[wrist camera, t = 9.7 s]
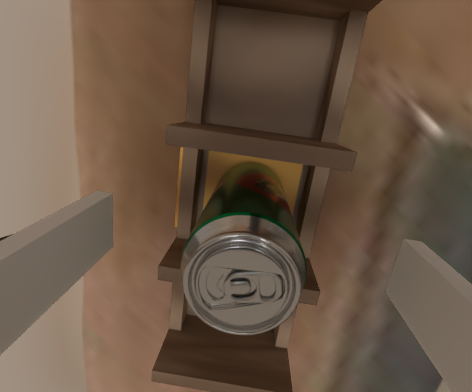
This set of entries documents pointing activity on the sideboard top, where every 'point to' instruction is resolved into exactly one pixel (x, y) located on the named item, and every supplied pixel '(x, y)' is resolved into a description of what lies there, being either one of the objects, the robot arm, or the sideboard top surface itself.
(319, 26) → the slot rack
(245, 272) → the soda can
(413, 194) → the sideboard top surface
